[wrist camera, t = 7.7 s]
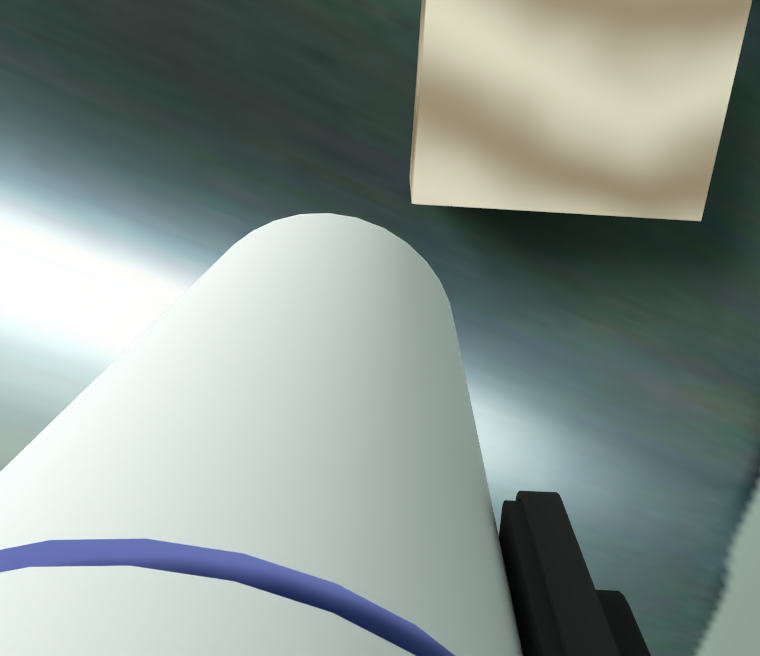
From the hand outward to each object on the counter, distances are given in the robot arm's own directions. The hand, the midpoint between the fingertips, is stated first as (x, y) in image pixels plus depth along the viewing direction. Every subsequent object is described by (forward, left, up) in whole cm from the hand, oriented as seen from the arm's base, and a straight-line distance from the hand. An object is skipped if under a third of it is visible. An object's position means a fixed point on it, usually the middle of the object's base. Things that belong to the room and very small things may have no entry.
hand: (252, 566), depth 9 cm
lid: (-11, +10, -25) cm, 29 cm away
